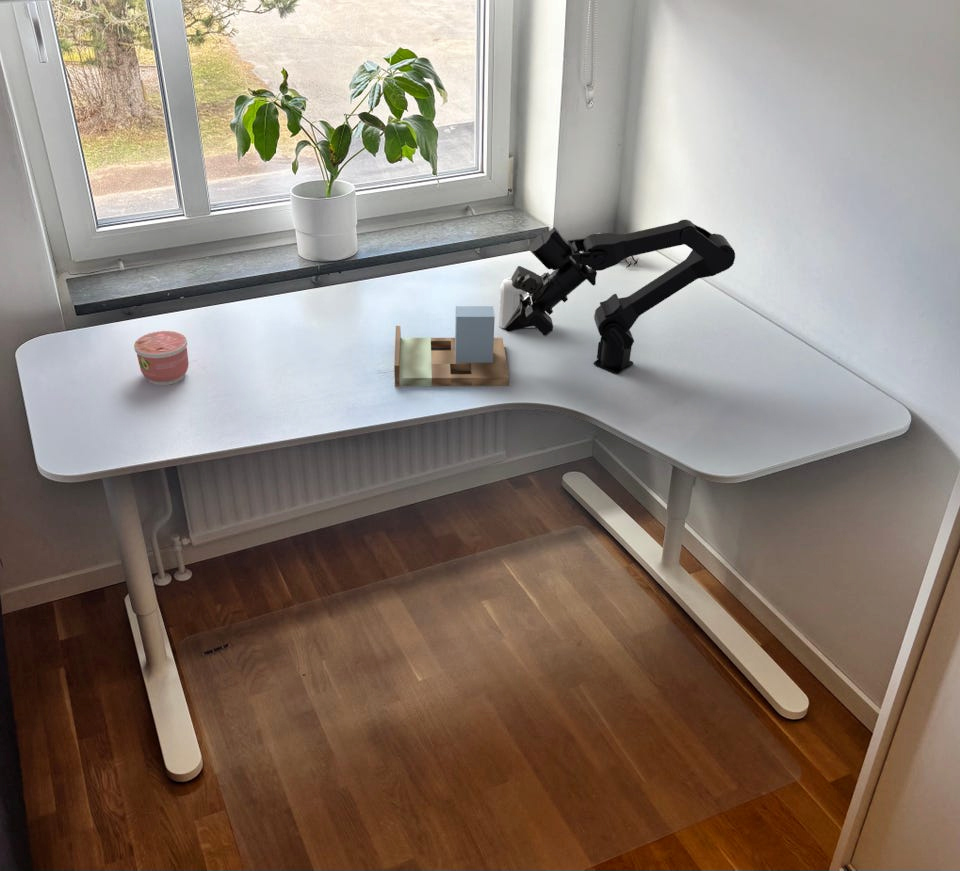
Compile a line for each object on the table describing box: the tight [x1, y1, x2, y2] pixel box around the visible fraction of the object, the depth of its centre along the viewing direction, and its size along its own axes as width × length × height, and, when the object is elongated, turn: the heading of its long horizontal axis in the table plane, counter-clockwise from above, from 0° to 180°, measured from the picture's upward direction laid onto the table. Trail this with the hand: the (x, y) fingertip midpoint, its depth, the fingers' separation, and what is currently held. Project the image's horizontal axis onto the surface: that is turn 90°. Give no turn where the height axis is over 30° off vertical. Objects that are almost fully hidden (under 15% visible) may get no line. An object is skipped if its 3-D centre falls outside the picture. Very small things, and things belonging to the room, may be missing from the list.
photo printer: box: [497, 276, 537, 329], centre depth 222 cm, size 10×4×12 cm, turn 98°
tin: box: [454, 305, 496, 363], centre depth 204 cm, size 8×5×11 cm, turn 93°
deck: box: [393, 325, 510, 387], centre depth 207 cm, size 24×18×5 cm
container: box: [133, 330, 190, 386], centre depth 199 cm, size 10×10×8 cm
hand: (506, 329), depth 204 cm, fingers closed
